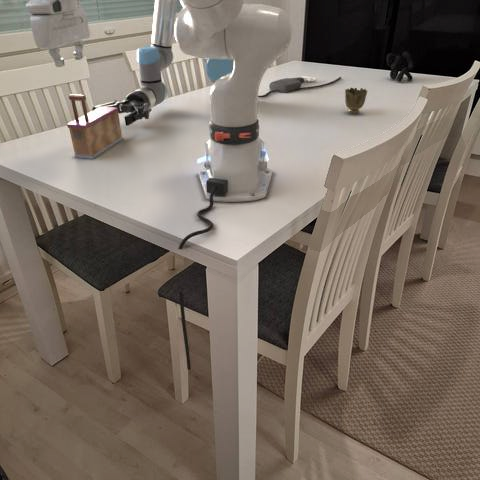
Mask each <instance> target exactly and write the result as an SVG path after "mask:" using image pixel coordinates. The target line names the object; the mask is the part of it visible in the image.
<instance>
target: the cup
mask: <svg viewBox="0 0 480 480" xmlns="http://www.w3.org/2000/svg"><path fill="white" fill-rule="evenodd" d="M367 94H368V90H367V88H363V87H361V88H360V89H358V88H357V87H355V88H354V87H350V88H346V89H345V90H344V95H345V96H344V97H345V99H344V100H345V101H344V102H345V105H346V108H347V109H348V113H349V114H352V115H356V114H359V113H360V109H362V107H364V105H365V102H366V99H367V98H366V97H367Z"/></svg>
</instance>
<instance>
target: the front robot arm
mask: <svg viewBox="0 0 480 480" xmlns="http://www.w3.org/2000/svg"><path fill="white" fill-rule="evenodd" d="M244 1H245V0H182V2H183V3H184V5H185V8H183V7H182V8H181V10H179V12H178V14H177V16H176V17H175V25H174V33H173V35H174V38H175V42H176V44H177V45H178V48H179V49H180V51H181V52H182V53H183V54H185V55H187V56H191V57H195V58H199V59H202V60H204V59H227V60H234V67H233V71H232V72H231V73H229V74H227V75H225V76H223V77H221V78H220V79H218V80H217V81H215V82H214V83H212V85H211V86H210V90H209V102H210V103H209V105H210V106H209V107H210V120H209V126H208V129H209V139H208V140H207V141H206V142H205V143H204V144H205V145H204V148H205V149H204V150H205V152H204V153H205V156H202V157H200V158H198V159H197V160H196V163H197V164H200V163H203V162H204V164H203V165H204V168H203V169H201V170H199V171H198V178H199V181H200V185H201V187H202V190H203V193H204V196H205V199H206V200H209V205H208V206H207V207H205V208H202V209H200V210H198V211H197V217H198V219H200V220H201V221H203V222H205V223H207V224H208V227H206V228H204V229H199V230H196V231H193V232H191V233H189V234H187V235H186V236H185V237H184V238H183V239H182V240H181V241H180V243H179V244H178V245H179V246H178V250H182V249H183V248H184V246H185V244H186V243H187V242H188V241H189V240H190V239H191V238H193V237H196V236H199V235H203V234H206V233H209V232H210V231H211V230H212V229H213V227H214V223H213V222H212V221H211V220H210V219H208V218H206V217H205V216H203V215H202V214H203V213H207V212H208V211H210V210H212V209H213V206H214V202H222V203H223V202H225V203H240V202H253V201H257V200H261V199H264V198H266V196H267V193H268V190H269V187H270V186H269V185H270V183H271V180H272V177H273V170H272V169H271V168H269V167H268V161H269V156H268V154H267V151H266V149H265V141H263V140H262V138H260V121H259V118H258V103H259V97H258V96H259V91H260V85H261V82H262V79H263V77H264V75H265V73H266V72H267V70H268V69H269V68H270V66H272V64H273V63H274V62H275V61H276V60H278V59H279V58H280V57H282V56H283V55H284V54H285V52H286V51H287V49H288V47H289V45H290V43H291V39H292V24H291V21H290V18H289V16H288V14H287V12H285V10H284V9H283V8H280V7H276V6H273V5H270V4H269V5H268V4H264V3H244ZM25 8H26V12H27V14H29V15H30V17H29V23H30V28H31V32H32V36H33V40H34V44H35V45H36V47H37V48H38V49H39V50H43V51H44V50H48V53H49V55H50V56H51V58H52V60H53V61H54V66H55V67H56V68H62V67H65V64H66V63H65V59H64V58H63V57H62V56H61V55H60V52H61V50H60V48H62V47H64V46H68V45H71V44H73V46H74V52H73V56H74V60H76V61H81V60H83V59H84V54H83V52H84V40H87V39H89V38H90V36H91V31H90V27H89V22H88V19H87V15H86V12H85V10H84V9H83V8H82V5H81V4H80V2H79V1H78V0H29V1H27V2H26V3H25ZM265 159H266V160H265ZM184 300H185V299H184V293H183V292H182V291H181V290H179V308H180V318H181V319H180V320H181V327H182V334H183V341H184V343H183V344H184V350H185V357H186V358H185V359H186V368H187V370H188V371H191V369H192V367H191V357H190V348H189V340H188V331H187V323H186V314H185V301H184Z"/></svg>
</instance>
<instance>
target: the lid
mask: <svg viewBox="0 0 480 480" xmlns="http://www.w3.org/2000/svg"><path fill="white" fill-rule="evenodd" d="M68 99H69V100H70V103H71V107H72V111H73V116H74V120H71V121H70V122H68V123H66V126H67V128H68V129H69V128H78V129H86V128H88V127H90V126H92V125H94V124H95V123H97V122H99V121H101V120H103V119H104V118H106V117H108V116H110V115H112V114H114V113H115V112H117V111H118V108H114V107H100V108H98V109H96V110H94V111H93V110H92V112H91V111H89V112H90V113H89V112H88V109H87V105H86V100H87V97H86V95H85V94H74V93H73V94H71V93H70V94H69V95H68ZM76 102H81V107H82V111H83V115H82V116H80V117H79V114H78V110H77V105H76ZM87 113H88V114H87Z"/></svg>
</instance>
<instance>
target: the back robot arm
mask: <svg viewBox="0 0 480 480" xmlns="http://www.w3.org/2000/svg"><path fill="white" fill-rule="evenodd" d="M179 2H180V5H181V6H182V9H183V8H185V5H184V3H183V2H182V0H179ZM177 8H178V0H154V8H153V9H154V10H153V19H152V20H153V21H152V31H151V41H150V43H151V44H150V46H141V47H138V48H137V49H136V61H137V66H138V67H137V68H138V73H139V80H140V88H137V89H136V90H134V91H132V92H130V93H128V94H127V95H126V97H125V98H124V99H123V100H122V101H118V100H116V99H115V100H111V101H109V102H106V103H101V104H98V105H94V106H91V109H92V111H94V110H96V109H98V108H100V107H114V108H118V114H119V115H120V114H125V113H126V114H127V115H125V116H124V117H123V118H124V124H125V126H126V127H129V126H131V125H132V124H133V123H135V122H137V121H139V120H143V118H144V119H145V120H149V119H150V112H152V111H153V110H152V109H153V108H154V107H156V106H158V105H160V104H162V103H163V102H164V101H165V100H166V99H167V97H168V88H167V86H166V84H165V83H164V82H163V78H162V71H163V70H165V69H167V68H169V66H171V65H172V63H173V61H174V53H173V51H172V49H173V40H174V26H175V21H176V17H177V16H176V15H177ZM203 61H204V63H205V72H206V75H207V77H208V79H209V81H210V82H211V83H212V84H214V82H215V81H217V80H218V79H220V78H221V77H223V76H225V75H227V74H229V73H231V72H232V71H233V67H234V60H227V59H203ZM339 80H342V76H339V77H338V78H336V79H334V80H332V81H329V82H327V83H324V84H323V83H322V84H318V85H313V86H306V87H305V86H304V87H300V88H296V89H295V90H294V91H299V90H300V91H301V90H309V89H317V88H321V87H326V86H329V85H332V84H335V83H336V82H338V81H339ZM278 92H279V90H270V91H267V92H266V93H265V94H263V95H258V99H259V98H265V97H267V96H268V95H270V94H272V93H278ZM92 111H89V112H87V114H88V113H90V112H92Z"/></svg>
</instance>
